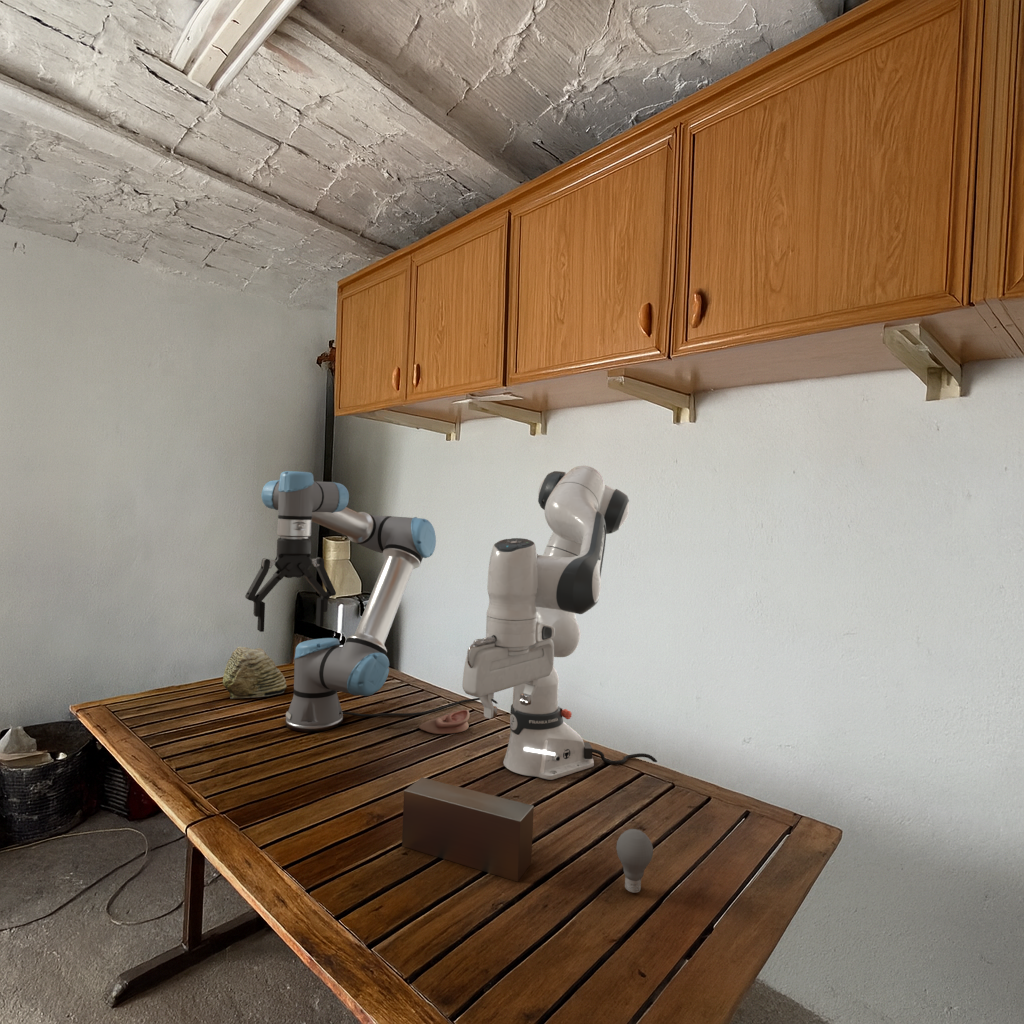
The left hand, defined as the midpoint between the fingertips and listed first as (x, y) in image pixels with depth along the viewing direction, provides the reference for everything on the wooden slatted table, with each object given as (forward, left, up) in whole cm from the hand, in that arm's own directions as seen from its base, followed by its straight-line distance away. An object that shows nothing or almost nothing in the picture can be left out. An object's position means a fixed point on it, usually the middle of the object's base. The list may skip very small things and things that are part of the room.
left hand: (290, 628), depth 148 cm
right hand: (-3, +64, -5) cm, 64 cm away
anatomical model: (-44, +9, -32) cm, 55 cm away
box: (-1, +56, -32) cm, 65 cm away
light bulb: (-12, +84, -32) cm, 91 cm away
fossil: (-21, -52, -32) cm, 65 cm away
